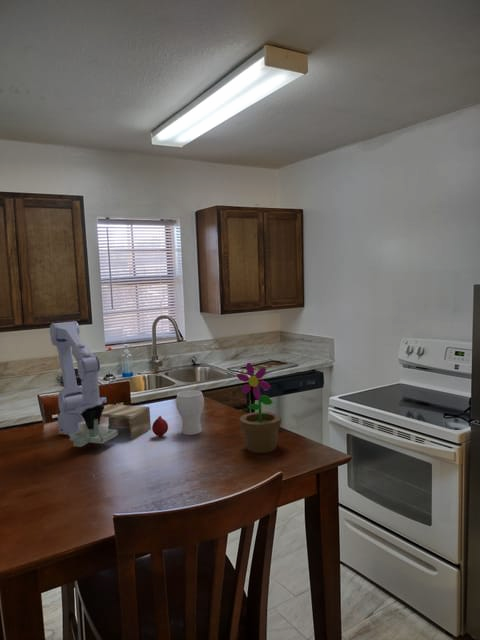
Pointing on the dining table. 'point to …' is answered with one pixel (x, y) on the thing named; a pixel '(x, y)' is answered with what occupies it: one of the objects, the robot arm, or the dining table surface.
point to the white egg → (103, 430)
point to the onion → (160, 427)
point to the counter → (128, 418)
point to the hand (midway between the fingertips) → (93, 427)
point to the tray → (96, 439)
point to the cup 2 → (190, 410)
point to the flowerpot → (259, 415)
